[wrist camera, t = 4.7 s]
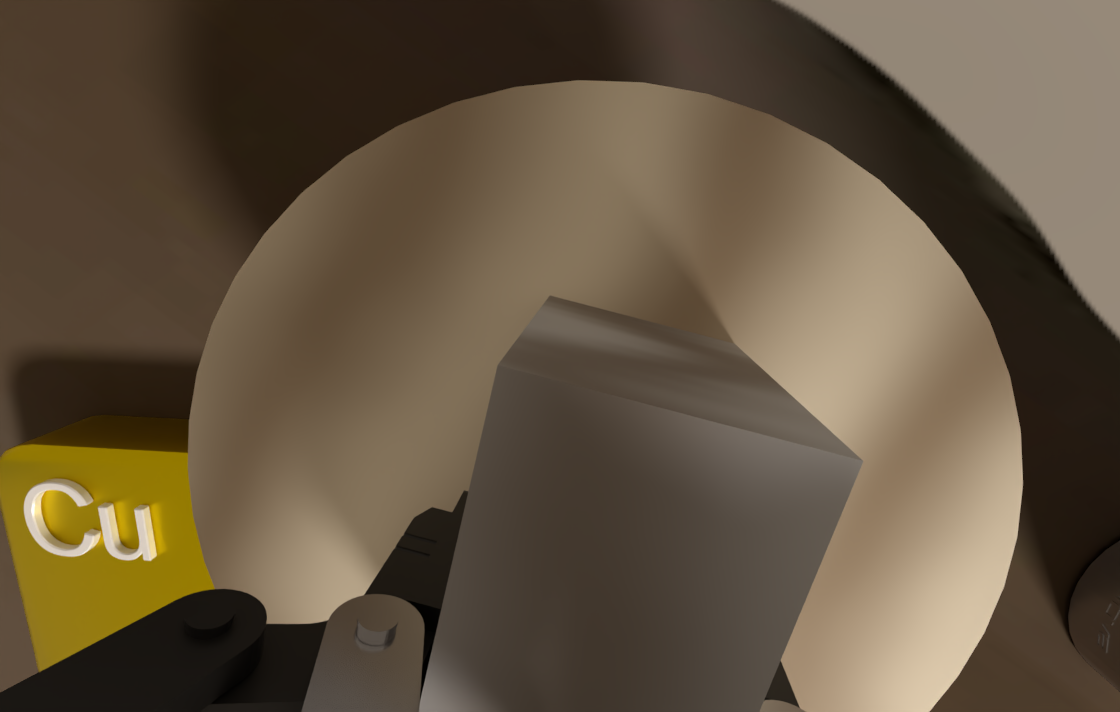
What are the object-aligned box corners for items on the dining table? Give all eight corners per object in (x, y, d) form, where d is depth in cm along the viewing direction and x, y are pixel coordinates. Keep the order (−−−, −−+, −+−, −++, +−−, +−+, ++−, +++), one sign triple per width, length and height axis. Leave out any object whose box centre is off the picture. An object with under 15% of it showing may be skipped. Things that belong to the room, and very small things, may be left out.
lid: (1148, 218, 12) (1929, 211, 5) (820, 880, 16) (979, 1361, 9) (260, -7, 12) (-204, -318, 5) (186, 706, 16) (-110, 1048, 10)
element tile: (116, 656, 32) (35, 729, 28) (68, 410, 29) (-33, 447, 24) (370, 675, 32) (331, 754, 27) (354, 424, 28) (305, 465, 23)
